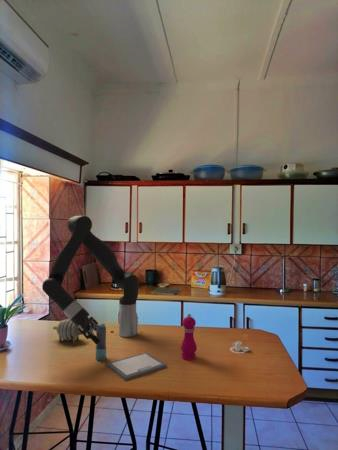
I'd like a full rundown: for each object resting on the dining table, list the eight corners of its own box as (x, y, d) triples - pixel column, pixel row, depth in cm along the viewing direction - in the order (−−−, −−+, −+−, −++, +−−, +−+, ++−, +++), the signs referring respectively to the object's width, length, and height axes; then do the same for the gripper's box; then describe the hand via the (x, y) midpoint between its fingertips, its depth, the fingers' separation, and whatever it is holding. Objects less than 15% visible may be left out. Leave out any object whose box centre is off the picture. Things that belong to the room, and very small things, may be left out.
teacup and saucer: (251, 351, 155) (251, 342, 155) (242, 356, 149) (242, 347, 149) (235, 346, 161) (235, 338, 161) (226, 350, 155) (226, 342, 155)
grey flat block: (146, 354, 149) (146, 350, 149) (166, 367, 136) (166, 362, 136) (106, 365, 137) (106, 361, 136) (125, 380, 124) (125, 376, 124)
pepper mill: (198, 355, 148) (198, 312, 148) (194, 361, 141) (194, 316, 141) (183, 353, 150) (183, 310, 150) (178, 359, 144) (179, 315, 143)
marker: (103, 355, 147) (103, 321, 147) (107, 359, 143) (108, 324, 143) (93, 358, 144) (94, 323, 144) (98, 361, 140) (98, 326, 140)
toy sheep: (79, 345, 159) (80, 323, 159) (47, 343, 160) (47, 321, 160) (87, 337, 169) (87, 316, 169) (57, 336, 171) (57, 315, 171)
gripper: (76, 311, 137) (102, 339, 136) (87, 303, 151) (110, 328, 150) (64, 323, 137) (90, 351, 136) (75, 314, 151) (99, 339, 151)
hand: (101, 339), depth 143 cm, fingers open, 8 cm apart
